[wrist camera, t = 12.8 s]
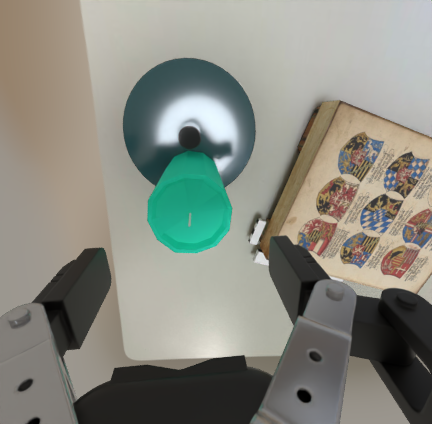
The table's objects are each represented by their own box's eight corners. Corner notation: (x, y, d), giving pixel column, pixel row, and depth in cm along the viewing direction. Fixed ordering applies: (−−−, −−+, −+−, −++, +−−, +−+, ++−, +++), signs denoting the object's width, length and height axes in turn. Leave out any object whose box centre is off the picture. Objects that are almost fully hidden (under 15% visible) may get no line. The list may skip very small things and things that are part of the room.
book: (239, 250, 41) (377, 286, 46) (246, 272, 35) (403, 311, 40) (302, 98, 33) (462, 161, 38) (325, 94, 27) (511, 169, 32)
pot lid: (136, 197, 28) (124, 214, 23) (114, 62, 23) (92, 48, 18) (252, 190, 29) (262, 205, 24) (255, 58, 24) (269, 44, 19)
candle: (207, 211, 28) (214, 276, 17) (157, 193, 27) (129, 249, 16) (228, 163, 26) (252, 200, 15) (175, 141, 25) (158, 163, 14)
